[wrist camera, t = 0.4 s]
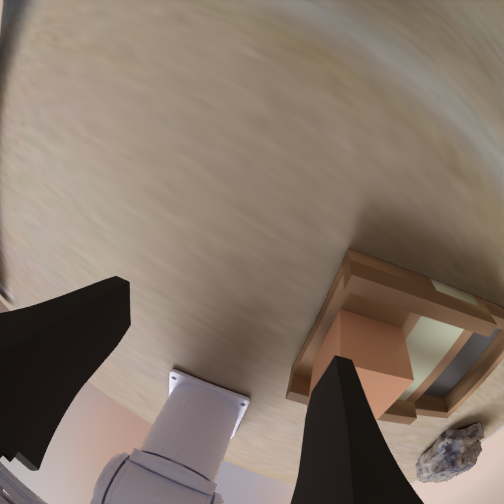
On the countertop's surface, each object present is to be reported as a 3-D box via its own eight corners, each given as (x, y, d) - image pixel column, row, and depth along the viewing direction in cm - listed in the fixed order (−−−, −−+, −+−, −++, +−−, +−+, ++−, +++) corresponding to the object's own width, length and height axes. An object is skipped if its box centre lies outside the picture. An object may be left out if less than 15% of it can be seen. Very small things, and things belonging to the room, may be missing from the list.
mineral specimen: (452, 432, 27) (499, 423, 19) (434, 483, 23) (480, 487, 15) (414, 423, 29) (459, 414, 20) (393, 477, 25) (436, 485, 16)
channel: (443, 402, 20) (449, 428, 17) (291, 367, 22) (285, 398, 19) (515, 312, 15) (532, 337, 12) (348, 248, 17) (351, 274, 14)
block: (370, 372, 18) (372, 423, 14) (313, 357, 19) (306, 409, 15) (402, 328, 16) (414, 380, 12) (340, 309, 17) (339, 362, 13)
